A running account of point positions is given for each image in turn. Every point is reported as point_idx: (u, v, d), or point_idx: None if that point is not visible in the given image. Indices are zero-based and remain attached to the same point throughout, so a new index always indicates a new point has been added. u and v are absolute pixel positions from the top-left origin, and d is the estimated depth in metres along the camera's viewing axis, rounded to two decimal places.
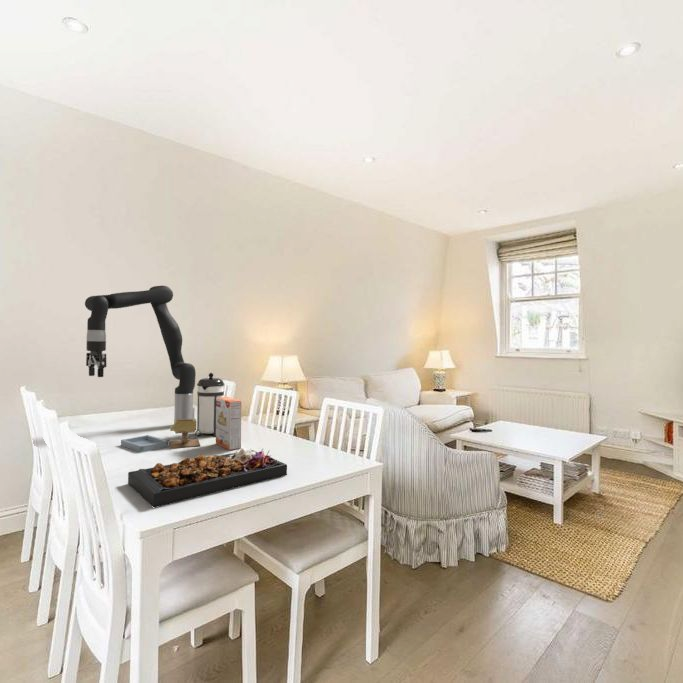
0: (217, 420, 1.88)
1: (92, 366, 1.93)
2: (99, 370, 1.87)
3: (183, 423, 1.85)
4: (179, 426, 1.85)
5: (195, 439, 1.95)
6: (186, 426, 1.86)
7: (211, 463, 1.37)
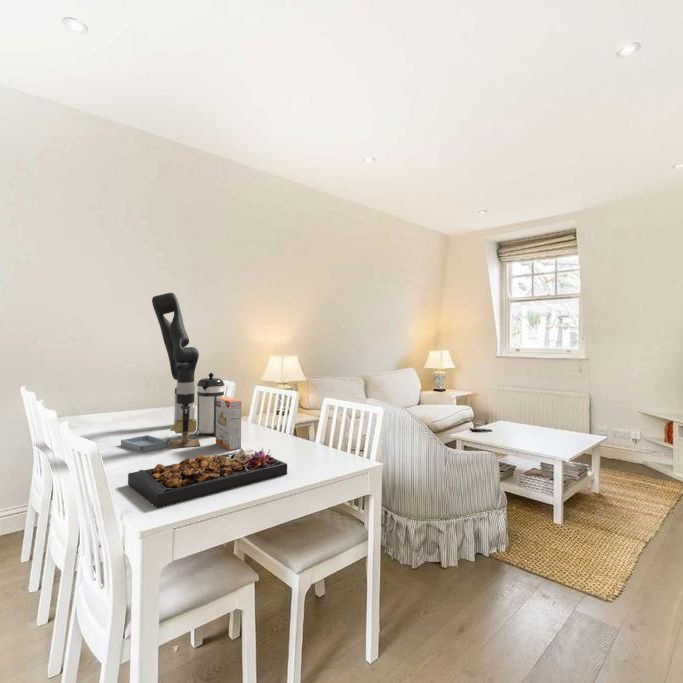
0: (217, 420, 1.88)
1: None
2: None
3: None
4: (179, 426, 1.85)
5: (195, 439, 1.95)
6: None
7: (212, 463, 1.37)
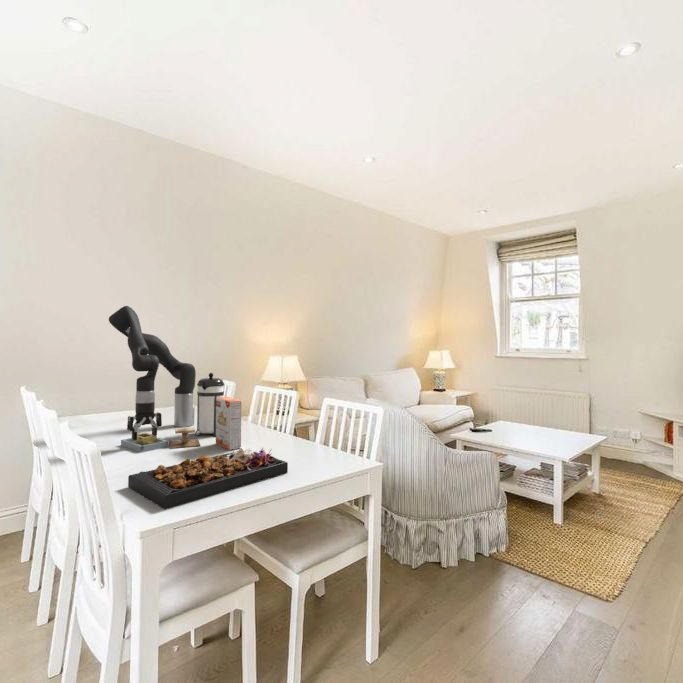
0: (217, 420, 1.88)
1: (154, 427, 1.87)
2: None
3: None
4: None
5: (195, 439, 1.95)
6: None
7: (215, 463, 1.37)
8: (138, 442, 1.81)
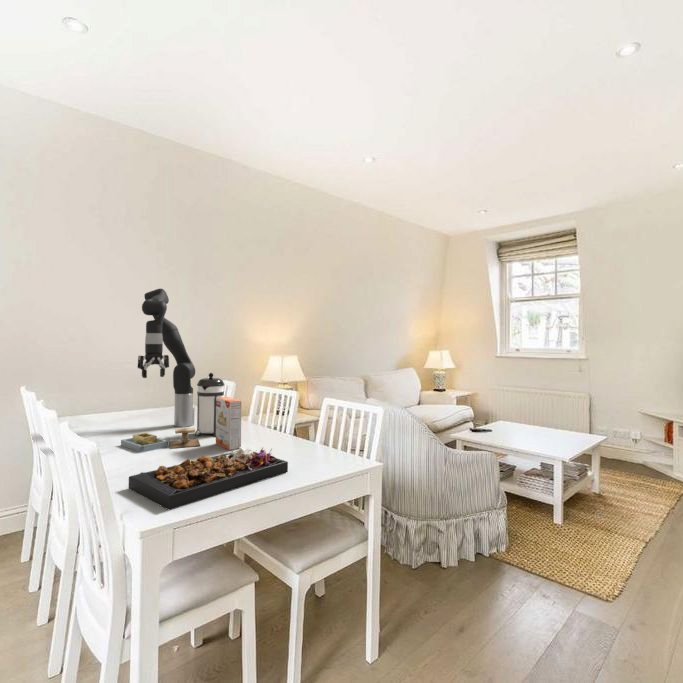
0: (217, 420, 1.88)
1: (162, 368, 2.03)
2: None
3: None
4: None
5: (195, 439, 1.95)
6: None
7: (217, 463, 1.37)
8: (138, 442, 1.81)
